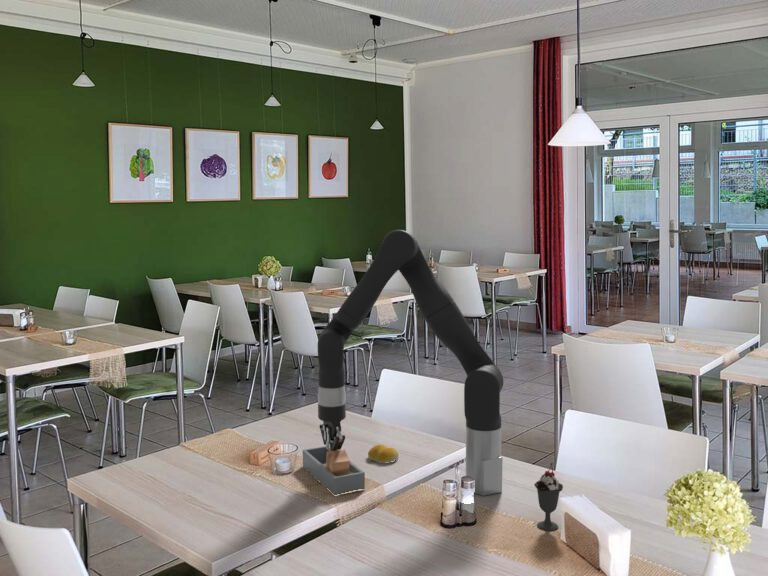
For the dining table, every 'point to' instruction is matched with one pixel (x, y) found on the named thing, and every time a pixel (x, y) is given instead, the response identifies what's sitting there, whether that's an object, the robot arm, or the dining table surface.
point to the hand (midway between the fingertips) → (332, 462)
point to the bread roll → (382, 454)
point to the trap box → (317, 467)
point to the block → (338, 462)
